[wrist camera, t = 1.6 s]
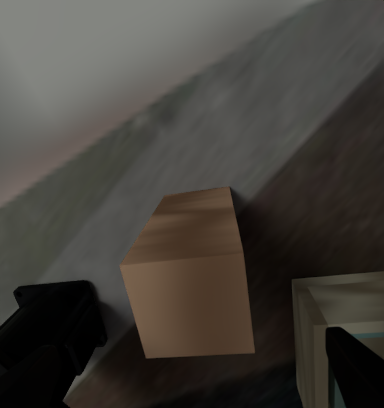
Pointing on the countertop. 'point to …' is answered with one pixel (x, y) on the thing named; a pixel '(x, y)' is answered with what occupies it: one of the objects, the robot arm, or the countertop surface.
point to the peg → (190, 278)
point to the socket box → (331, 317)
